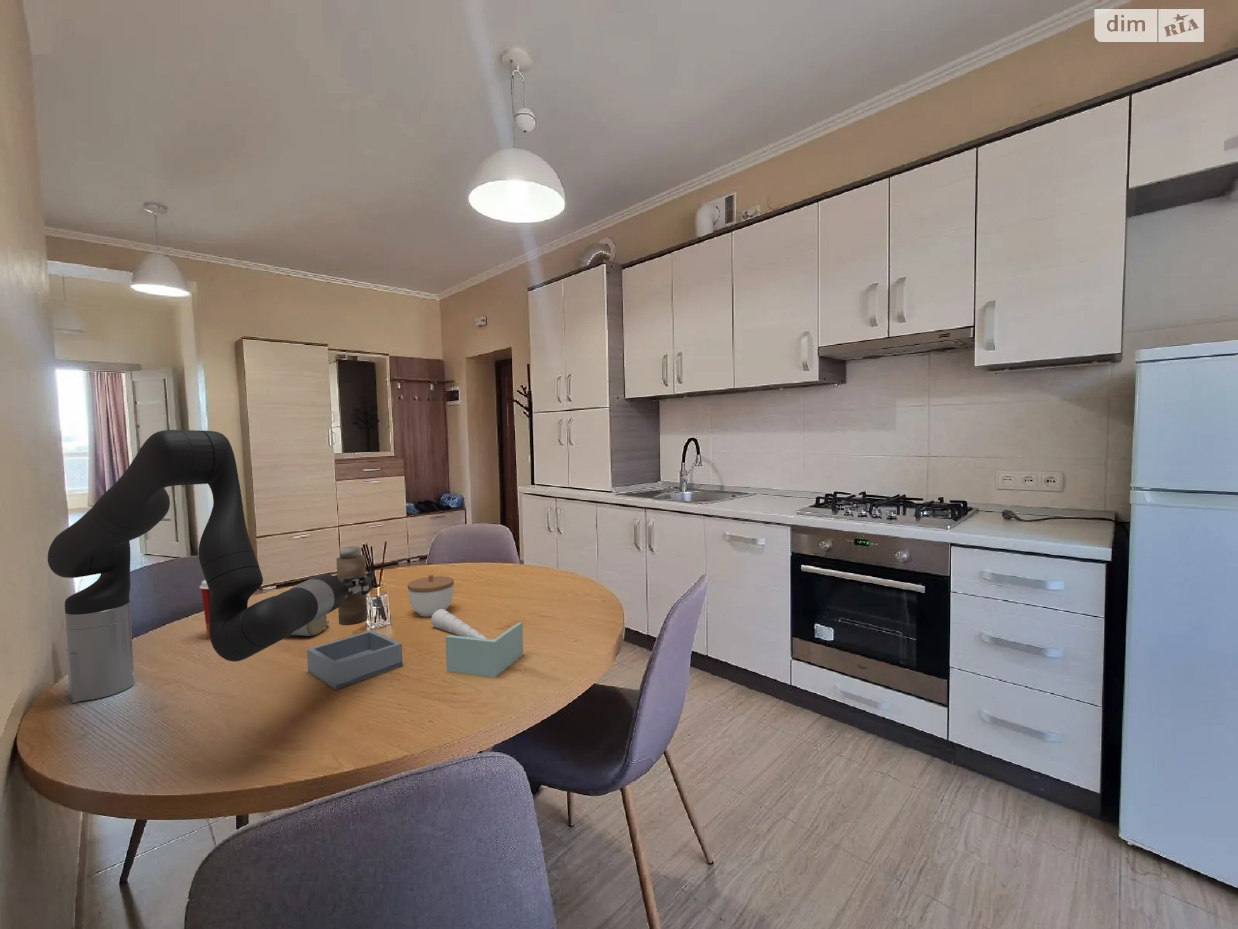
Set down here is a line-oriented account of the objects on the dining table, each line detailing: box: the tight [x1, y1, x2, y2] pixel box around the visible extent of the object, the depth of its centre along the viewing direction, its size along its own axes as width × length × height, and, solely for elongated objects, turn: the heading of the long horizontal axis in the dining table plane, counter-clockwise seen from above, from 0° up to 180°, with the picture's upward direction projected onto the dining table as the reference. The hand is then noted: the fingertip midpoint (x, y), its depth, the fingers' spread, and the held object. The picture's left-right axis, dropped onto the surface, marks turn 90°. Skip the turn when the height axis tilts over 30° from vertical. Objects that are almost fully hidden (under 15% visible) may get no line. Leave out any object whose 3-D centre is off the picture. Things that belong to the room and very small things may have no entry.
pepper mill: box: [336, 545, 368, 626], centre depth 112 cm, size 6×6×16 cm
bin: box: [306, 629, 404, 691], centre depth 113 cm, size 14×14×5 cm
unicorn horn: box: [430, 609, 488, 639], centre depth 131 cm, size 5×24×5 cm, turn 47°
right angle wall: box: [445, 621, 524, 678], centre depth 115 cm, size 12×12×8 cm
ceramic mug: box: [289, 614, 330, 637], centre depth 136 cm, size 11×8×8 cm
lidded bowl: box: [407, 574, 454, 618], centre depth 150 cm, size 13×13×11 cm
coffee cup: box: [199, 579, 210, 640], centre depth 135 cm, size 8×8×15 cm
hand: (357, 576), depth 114 cm, fingers closed on pepper mill, 5 cm apart
